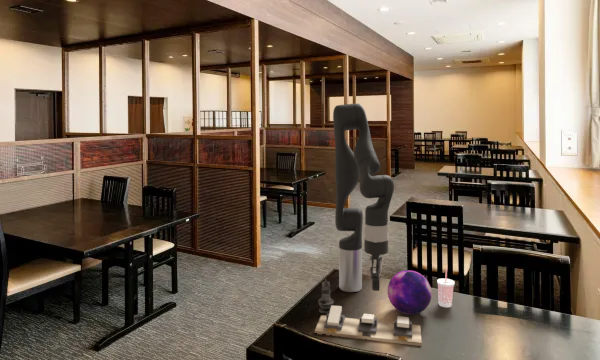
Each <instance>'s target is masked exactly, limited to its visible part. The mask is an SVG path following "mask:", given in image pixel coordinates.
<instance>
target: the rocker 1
mask: <svg viewBox="0 0 600 360" xmlns="http://www.w3.org/2000/svg"><path fill="white" fill-rule="evenodd" d="M342 312H343V307H342V306H341V305H334V304H333V305H331V309H330V313H329V317H328V321H327V325H334V326H339V321H340V316H341V315H342Z"/></svg>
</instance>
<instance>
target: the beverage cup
mask: <svg viewBox="0 0 600 360" xmlns="http://www.w3.org/2000/svg"><path fill="white" fill-rule="evenodd" d="M444 273H445V275H444V276H445V278H438V279H437V280H436V282H437V294H438V295H437V299H438V300H437V301H438V305H439V307H442V308H451V307H452V306H453V296H454V287H455V285H456V283H455V280H453V279H450V278H448V268H447V267H446V268H445V272H444Z"/></svg>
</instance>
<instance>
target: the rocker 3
mask: <svg viewBox="0 0 600 360" xmlns="http://www.w3.org/2000/svg"><path fill="white" fill-rule="evenodd" d="M396 320H397V327H405V328H409V322H410V318H409V317H408V316H400V315H398V316H397V318H396Z"/></svg>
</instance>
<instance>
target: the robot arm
mask: <svg viewBox="0 0 600 360" xmlns="http://www.w3.org/2000/svg"><path fill="white" fill-rule="evenodd" d="M332 112H333V113H332V115H333V116H332V120H333V121H332V122H333V134H334V135H333V136H334V144H335V145H334V146H335V147H334V148H335V150H334V151H335V153H334V154H335V160H334V161H335V162H334V163H335V164H334V174H335V196H336V198H335V213H334V214H335V215H334V216H335V217H334V218H335V219H334V221H335V222H334V223H335V229H336V230H337V231H338V232H339V231H340V232H353V233H351V234H350V235H348V236H345V237H343V238H341V239H340V240H339V241H338V260H339V261H338V267H339V268H338V273H339V274H338V276H339V277H338V287H339V289H340V290H341V291H343V292H347V293H354V292H359V291H361V290H362V288H363V251H364V252H365V253H366V254H367V255H371V256H370V257H369V259H368V261H369V262H368V263H369V271H370V272H369V273H370V279H371V280H372V281H371V282H372V284H371V287H372V289H371V290H372V291H375V292H376V291H377V292H378V291H380V285H381V284H380V282H381V281H380V280H381V273H382V269H383V268H382V267H383V265H382V264H383V262H384V258H383V256H384V255H386V254H388V253H389V226H388V225H389V223H388V221H389V220H388V219H389V215H388V214H389V213H388V212H389V209H390V205H391V202H392V199H393V195H394V190H395V183H394V181H393V179H392V177H391V176H390V175H387V174H381V175H379V174H378V175H376V174H377V173H379V172H380V169H381V163H380V161H379V158H378V156H377V153H376V150H375V149H374V145H373V141H372V136H371V131H370V127H369V122H368V117H367V113H366V109H365V108H364V106H363V105H362V104H360V103H347V104H346V103H345V104H338V105H336V106H334V108H333V111H332ZM354 130H358V131H359V135H358V139H357V140H356V143H355V146H354V149H353V150H352V149H351V147H350V146H349V143H348V142H347V140H346V136H345V131H354ZM358 184H359V191H360V194H361V195H362V197H364V198H366V199H377V201H376V202H375V203H373V204H368V205H367V206H366V207H365V212H364V213H365V214H364V215H365V216H364V215H363V211H362V209H361V208H357V207H345V205H346V202H347V200H348V198H349V197H350V195H351V193H352V192H353V191H354V189H355V188H356V187H357V185H358ZM344 207H345V208H344ZM364 217H365V218H364ZM363 222H364V223H365V225H364V231H363ZM363 233H364V234H363ZM363 235H364V237H363ZM363 238H364V239H363ZM363 240H364V242H363ZM363 243H364V246H363ZM363 247H364V248H363ZM382 255H383V256H382Z"/></svg>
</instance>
